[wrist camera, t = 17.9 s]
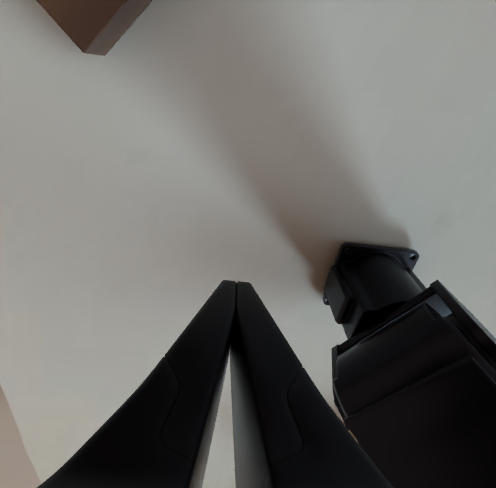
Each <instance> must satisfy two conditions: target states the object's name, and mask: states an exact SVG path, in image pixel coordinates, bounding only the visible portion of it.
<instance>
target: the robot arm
mask: <svg viewBox="0 0 496 488" xmlns="http://www.w3.org/2000/svg"><path fill="white" fill-rule="evenodd" d="M346 248H349V250H346V251H345V249H346ZM412 255H413V256H412ZM410 256H412V257H410ZM418 258H419V254H418V253H417V252H416V251H415V250H410V249H401V248H392V247H383V246H374V245H365V244H356V243H344V244H343V245H342V246H341V247H340V250H339V253H338V256H337V259H336V262H335V264H334V265H333V266H332V267H331V269H330V272H329V275H328V278H327V281H326V284H325V287H324V290H325V293H324V296H323V302H324V304H325V305H330V307H331V310H332V313H333V315H334V318H335V321H336V322H337V323H338V324H342V325H343V328H344V331H345V333H346V336H347V339H348V340H347V341H345V342H343V343H342V344H340V345H336V346H335V347H333V348H332V379H333V395H334V402H335V405H336V406H337V408H338V410H339V413H340V414H341V416H342V418H343V420H344V423H345V425H346V426H347V427H348V429H349V430H350V432H351V433H352V434H353V436H354V437H355V438H354V437H353V436H352V435H351V433H350V432H349V431H348V429H347V428H346V427H345V426H344V424H343V423H342V422H341V421H340V419H339V418H338V417H337V415H336V414H335V413H334V411H333V410H332V409H331V407H330V406H329V405H328V403H327V402H326V401H325V399H324V398H323V396H322V395H321V393H320V392H319V390H318V389H317V387H316V386H315V384H314V383H313V381H312V380H311V378H310V377H309V375H308V374H307V372H306V370H305V369H304V368H302V364H301V363H300V361H299V359H298V358H297V356H296V355H295V353H294V352H293V350H292V348H291V347H290V345H289V344H288V342H287V340H286V339H285V337H284V336H283V334H282V333H281V331H280V329H279V328H278V326H277V325H276V323H275V321H274V320H273V318H272V317H271V315H270V313H269V312H268V310H267V309H266V307H265V306H264V304H263V302H262V301H261V299H260V298H259V296H258V294H257V293H256V291H255V290H254V288H253V287H252V285H251V284H250V283H249V282H240V281H239V282H237V283H236V282H235V281H229V280H223V281H222V282H221V283H220V285H219V286H218V287H217V289H216V290H215V291H214V292H213V294H212V295H211V296H210V298H209V299H208V300H207V301H206V303H205V304H204V305H203V307H202V308H201V309H200V310H199V312H198V313H197V314H196V316H195V317H194V318H193V319H192V321H191V322H190V323H189V325H188V326H187V327H186V329H185V330H184V331H183V332H182V334H181V335H180V336H179V338H178V339H177V340H176V341H175V343H174V344H173V345H172V347H171V348H170V349H169V350H168V352H167V353H166V354H165V357H163V358H162V359H161V361H160V362H159V363H158V364H157V366H156V367H155V368H154V370H153V371H152V372H151V373H150V374H149V376H148V377H147V378H146V379H145V380H144V382H143V383H142V384H141V385H140V386H139V388H138V389H137V390H136V391H135V392H134V393H133V394H132V395H131V396H130V397H129V398H128V399H127V400H126V402H125V403H124V404H123V405H122V406H121V407H120V408H119V409H118V410H117V411H116V412H115V413H114V414H113V415H112V416H111V417H110V418H109V419H108V420H107V421H106V422H105V423H104V424H103V425H102V426H101V427H100V428H99V430H98V431H97V432H96V433H95V434H94V435H93V436H92V437H91V438H90V439H89V440H88V441H87V442H86V443H85V444H84V445H83V446H82V447H81V448H80V449H79V450H78V451H77V452H76V453H75V454H74V455H73V456H72V457H71V458H70V459H69V460H68V461H67V462H66V463H65V464H64V465H63V466H62V467H61V468H60V469H59V470H58V471H57V472H55V473H54V474H53V475H52V476H51V477H50V478H48V479H47V480H46V481H45V482H43V483H42V484H41V485H40V486H38V487H37V488H202V484H203V479H204V474H205V470H206V465H207V460H208V455H209V450H210V445H211V440H212V436H213V431H214V426H215V421H216V416H217V411H218V407H219V402H220V397H221V392H222V387H223V382H224V378H225V373H226V368H227V363H228V358H229V351H230V372H231V393H232V415H233V436H234V458H235V479H236V488H496V339H495V337H494V336H493V335H492V334H491V333H490V332H489V331H488V330H487V329H486V328H485V327H484V326H483V325H482V324H481V323H480V322H479V321H478V320H477V319H476V318H475V316H474V315H473V314H472V313H471V312H470V311H469V310H468V309H467V308H466V307H465V306H464V305H462V304H461V303H460V302H459V301H458V300H457V299H456V298H455V297H454V296H453V295H452V294H451V293H450V292H449V291H448V290H447V289H446V288H445V287H444V286H443V285H442V284H441V283H440V282H439V281H438V280H436V281H435V282H433V283H432V284H430V287H429V288H427V289H426V287H425V286H424V285H423V284H422V283H421V281H420V280H419V279H418V278H417V277H416V275H415V274H414V273H413V272H412V269H413V268H414V266H415V264H416V262H417V260H418ZM355 439H356V440H357V441H356V440H355ZM358 443H359V444H358Z"/></svg>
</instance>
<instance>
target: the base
mask: <svg viewBox="0 0 496 488" xmlns="http://www.w3.org/2000/svg"><path fill="white" fill-rule="evenodd" d="M37 1H38V2H39V4H40V5H41V6H42V7H43V8H44V9H45V10H46V11H47V13H48V14H49V15H50V16H51V17H52V18H53V19H54V20H55V22H56V23H57V24H58V25H59V26H60V27H61V28H62V29H63V30H64V32H65V33H66V34H67V35H68V36H69V37H70V38H71V39H72V41H73V42H74V43H75V44H76V45H77V46H78V47H79V48H80V50H81V51H82V52H83V53H88V54H96V55H106V54H107V52H108V51H109V50H110V49H111V48H112V47H113V45H114V44H115V43H116V42H117V41H118V40H119V38H120V37H121V36H122V35H123V34H124V33H125V31H126V30H127V29H128V28H129V27H130V26H131V24H132V23H133V22H134V21H135V20H136V19H137V17H138V16H139V15H140V14H141V13H142V12H143V10H144V9H145V8H146V7H147V6H148V5H149V3H150V2H151V1H152V0H37Z"/></svg>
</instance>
